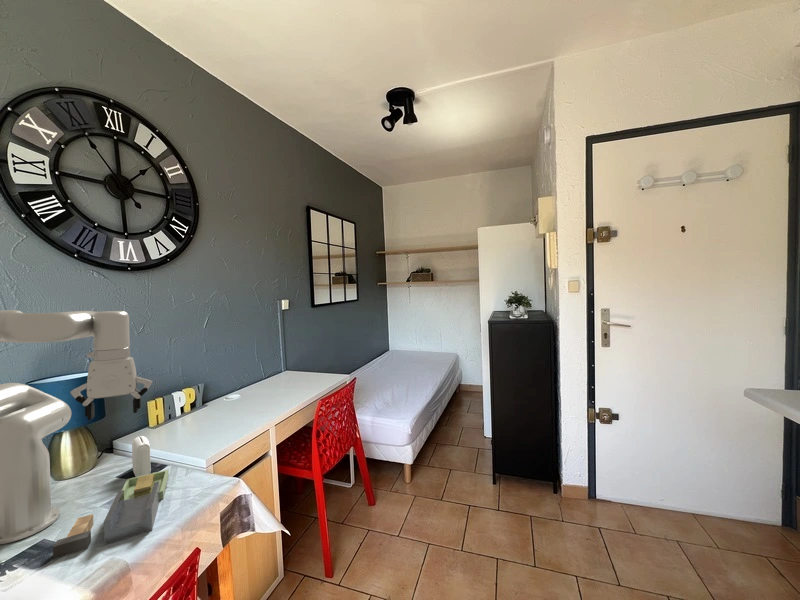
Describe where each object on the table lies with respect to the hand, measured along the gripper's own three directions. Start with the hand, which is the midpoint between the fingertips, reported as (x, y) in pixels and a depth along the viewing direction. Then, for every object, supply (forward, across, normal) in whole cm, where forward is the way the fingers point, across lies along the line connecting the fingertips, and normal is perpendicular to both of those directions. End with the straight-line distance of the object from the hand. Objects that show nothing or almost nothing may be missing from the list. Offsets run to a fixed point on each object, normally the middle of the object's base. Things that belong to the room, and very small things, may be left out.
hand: (114, 414), depth 90 cm
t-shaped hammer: (+27, -6, -13) cm, 30 cm away
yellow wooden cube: (+28, +6, +4) cm, 29 cm away
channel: (+28, +5, -6) cm, 29 cm away
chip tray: (+28, +5, +8) cm, 30 cm away
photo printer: (+29, +2, +23) cm, 37 cm away
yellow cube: (+26, +5, +6) cm, 27 cm away
